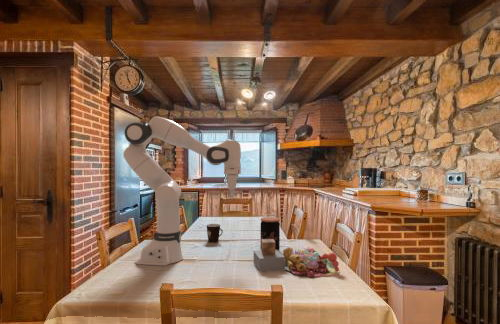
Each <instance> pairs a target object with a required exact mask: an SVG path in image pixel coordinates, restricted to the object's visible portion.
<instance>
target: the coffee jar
mask: <svg viewBox="0 0 500 324" xmlns="http://www.w3.org/2000/svg"><path fill="white" fill-rule="evenodd" d="M280 220H281V219H280V218H279V217H275V216H265V217H261V218H260V221H261V222H260V240H261V239H274V241H275V249H277V250H278V251H279V252H280V245H281V244H280V241H281V240H280V239H281V238H280V232H281V231H280V226H281V225H280V224H281V223H280Z"/></svg>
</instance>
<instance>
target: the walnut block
mask: <svg viewBox="0 0 500 324" xmlns="http://www.w3.org/2000/svg"><path fill="white" fill-rule="evenodd" d="M260 250H261V252H262V255H275V241H274V239H261V238H260Z"/></svg>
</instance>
